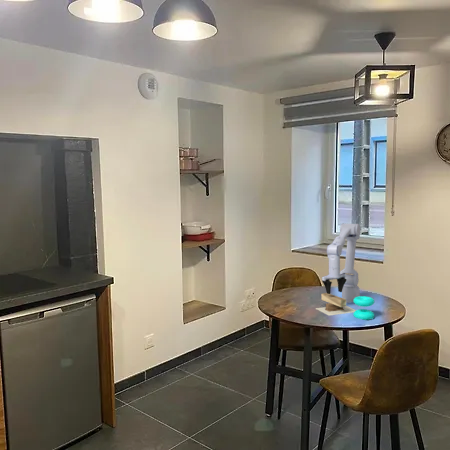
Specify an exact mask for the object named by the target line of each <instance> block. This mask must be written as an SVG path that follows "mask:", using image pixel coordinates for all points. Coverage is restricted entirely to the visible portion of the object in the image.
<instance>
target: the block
mask: <svg viewBox="0 0 450 450" xmlns="http://www.w3.org/2000/svg"><path fill="white" fill-rule="evenodd" d="M325 307H326V309H325V310H327V311H329V312H331V311H339V310H344V309H343V307H340V306H337V305H334V304H331V303H328V302H327V303H325Z"/></svg>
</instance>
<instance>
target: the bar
mask: <svg viewBox="0 0 450 450" xmlns="http://www.w3.org/2000/svg"><path fill="white" fill-rule="evenodd" d="M321 301H324V302H327V303H331V304H334V305H337V306H340V307H344V306H347V303H346V299H344V298H342V296H341V297H340V296H337V295H335V294H332V293H330V294H327V292H324V293H321Z"/></svg>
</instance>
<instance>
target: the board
mask: <svg viewBox="0 0 450 450" xmlns="http://www.w3.org/2000/svg"><path fill="white" fill-rule="evenodd" d="M325 309H326V306H323V307H317V308H315V310H317V311H319V312H320V313H323V314H324V315H327V316H335V315H345V314H353V313H354V312H355V311H356V310H357V309H354V308H352V307H350V306H348V305H346V306H344V307H343V309H344V310H339V311H331V312H329V311H327V310H325Z"/></svg>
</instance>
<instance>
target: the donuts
mask: <svg viewBox="0 0 450 450" xmlns="http://www.w3.org/2000/svg"><path fill="white" fill-rule="evenodd" d="M353 301H354V302H353V303H354V304H355V305H356V306H358V307H364V308H365V307H372V305H374V304H375V299H374V298H372V297H371V296H366V295H365V296H364V295H363V296H362V295H360V296H358V297H355V298H354V300H353ZM364 308H363V309H362V308H360V309H355V310H356V311H355V312H353V313H352V315H353V317H354V318H356V319H357V320H358V319H359V320H362V321H369V320H372V319H374V318H375V312H373V311H372V310H370V309H364Z"/></svg>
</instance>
